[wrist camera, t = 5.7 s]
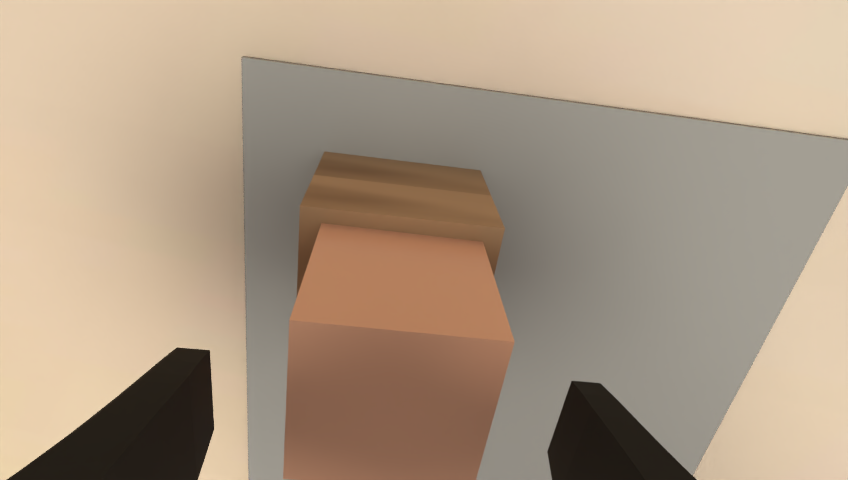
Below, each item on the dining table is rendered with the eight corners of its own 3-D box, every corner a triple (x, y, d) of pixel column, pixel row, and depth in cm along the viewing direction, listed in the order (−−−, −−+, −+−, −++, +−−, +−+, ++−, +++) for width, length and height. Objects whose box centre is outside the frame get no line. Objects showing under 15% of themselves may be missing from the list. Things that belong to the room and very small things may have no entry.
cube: (455, 366, 15) (473, 491, 11) (313, 353, 14) (282, 479, 11) (483, 241, 13) (514, 342, 9) (321, 223, 12) (289, 320, 9)
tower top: (461, 336, 17) (469, 383, 15) (307, 323, 16) (293, 369, 14) (491, 195, 15) (505, 228, 13) (313, 174, 14) (299, 205, 12)
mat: (659, 530, 26) (661, 534, 26) (250, 508, 24) (249, 512, 24) (865, 141, 17) (870, 143, 17) (243, 56, 15) (241, 57, 15)
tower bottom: (455, 299, 19) (461, 336, 17) (317, 286, 18) (307, 323, 16) (480, 170, 17) (491, 195, 15) (324, 151, 16) (313, 174, 14)
